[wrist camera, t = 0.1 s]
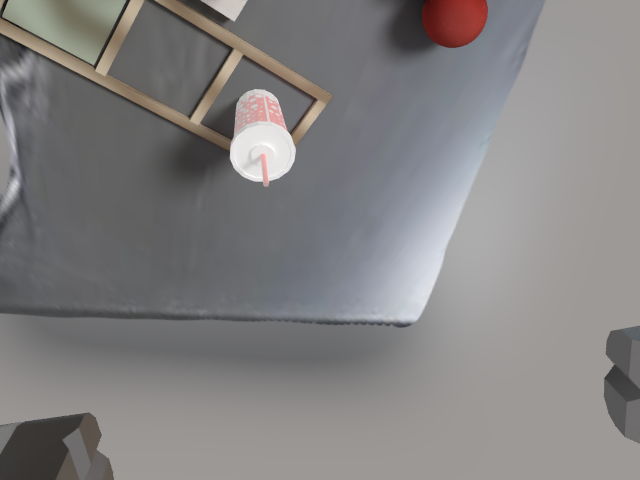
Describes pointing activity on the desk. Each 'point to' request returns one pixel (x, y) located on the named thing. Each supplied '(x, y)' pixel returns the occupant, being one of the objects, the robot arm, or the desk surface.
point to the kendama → (454, 21)
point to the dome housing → (227, 7)
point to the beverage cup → (261, 138)
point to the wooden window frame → (93, 30)
